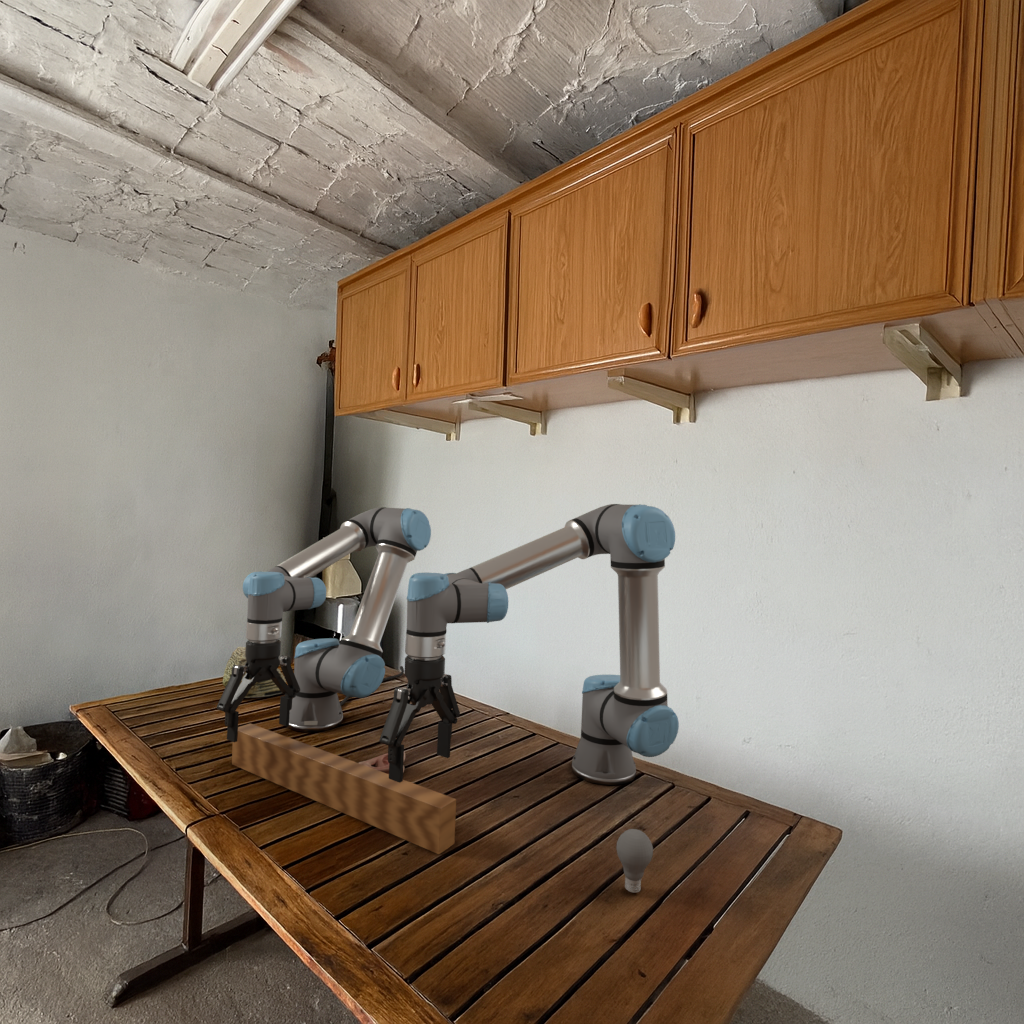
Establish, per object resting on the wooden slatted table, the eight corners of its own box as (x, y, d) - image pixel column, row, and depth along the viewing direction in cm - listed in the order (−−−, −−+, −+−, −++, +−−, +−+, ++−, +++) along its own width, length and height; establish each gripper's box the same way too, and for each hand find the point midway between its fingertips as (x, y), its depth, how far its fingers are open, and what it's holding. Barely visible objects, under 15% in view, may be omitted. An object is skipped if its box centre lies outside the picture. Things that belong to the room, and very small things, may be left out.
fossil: (218, 695, 195) (220, 647, 195) (278, 685, 208) (279, 640, 207) (228, 703, 189) (230, 653, 188) (289, 692, 201) (290, 645, 201)
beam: (231, 764, 148) (233, 728, 147) (249, 758, 151) (250, 723, 151) (438, 854, 114) (440, 808, 114) (454, 843, 118) (456, 799, 118)
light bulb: (610, 879, 108) (613, 822, 108) (644, 879, 109) (647, 822, 109) (619, 902, 102) (622, 840, 102) (655, 901, 103) (658, 840, 103)
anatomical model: (336, 761, 142) (359, 742, 153) (336, 778, 142) (358, 758, 153) (392, 768, 139) (411, 749, 151) (391, 786, 139) (410, 765, 151)
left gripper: (223, 651, 133) (218, 752, 133) (318, 634, 154) (313, 722, 154) (202, 645, 137) (197, 743, 137) (297, 630, 158) (293, 715, 158)
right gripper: (393, 672, 107) (388, 797, 107) (480, 647, 128) (475, 751, 128) (362, 664, 111) (357, 785, 111) (450, 641, 132) (446, 742, 132)
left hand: (258, 732), depth 145 cm, fingers open, 13 cm apart
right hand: (420, 767), depth 120 cm, fingers open, 13 cm apart
